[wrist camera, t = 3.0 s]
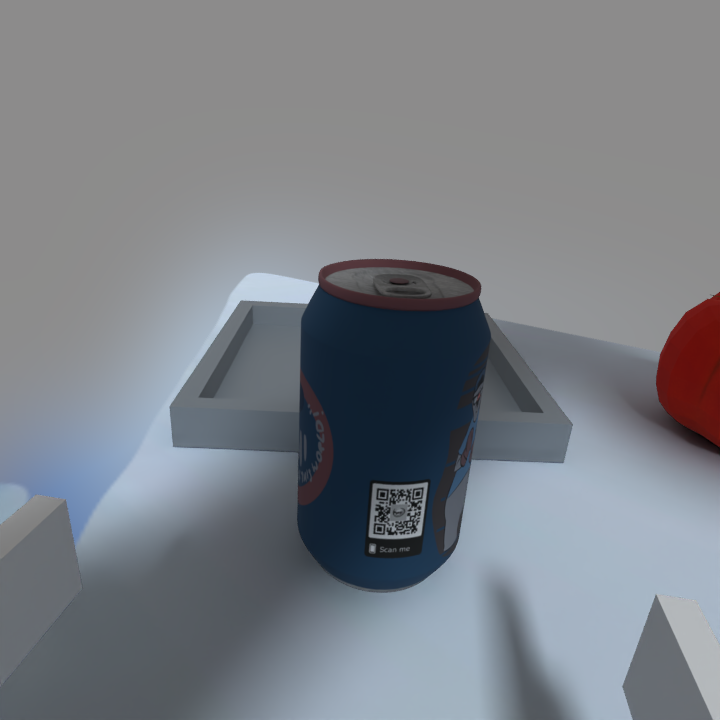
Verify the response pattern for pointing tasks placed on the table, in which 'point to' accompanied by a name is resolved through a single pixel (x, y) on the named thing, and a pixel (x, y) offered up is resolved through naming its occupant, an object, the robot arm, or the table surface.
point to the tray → (282, 393)
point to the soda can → (388, 417)
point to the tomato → (693, 370)
